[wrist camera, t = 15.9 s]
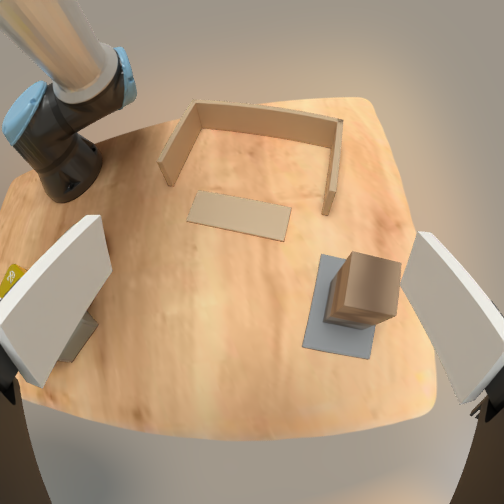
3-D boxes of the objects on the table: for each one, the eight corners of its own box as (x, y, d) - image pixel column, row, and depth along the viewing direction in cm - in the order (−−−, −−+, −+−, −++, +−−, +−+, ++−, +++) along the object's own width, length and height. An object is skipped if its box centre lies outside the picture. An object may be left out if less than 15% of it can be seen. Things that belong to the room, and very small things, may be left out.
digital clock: (92, 280, 44) (55, 258, 34) (116, 322, 41) (78, 308, 31) (37, 334, 40) (-3, 323, 30) (57, 376, 37) (15, 373, 27)
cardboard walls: (155, 215, 47) (140, 193, 41) (199, 124, 55) (192, 99, 49) (321, 250, 43) (330, 230, 37) (336, 145, 51) (343, 119, 45)
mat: (301, 346, 38) (302, 346, 38) (320, 255, 43) (321, 254, 43) (368, 359, 37) (369, 359, 36) (381, 268, 42) (382, 267, 41)
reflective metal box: (322, 322, 39) (343, 305, 28) (330, 282, 41) (352, 251, 30) (362, 330, 38) (396, 315, 27) (368, 290, 40) (401, 263, 29)
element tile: (32, 369, 38) (15, 367, 33) (-2, 325, 41) (-17, 321, 37) (61, 303, 42) (45, 296, 38) (24, 267, 46) (10, 258, 41)
